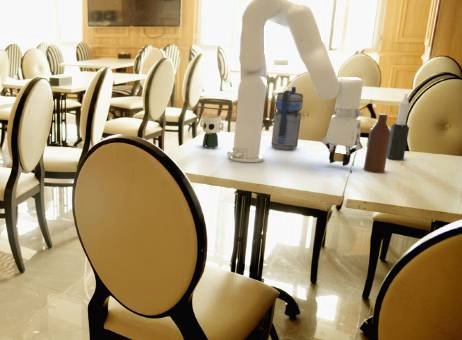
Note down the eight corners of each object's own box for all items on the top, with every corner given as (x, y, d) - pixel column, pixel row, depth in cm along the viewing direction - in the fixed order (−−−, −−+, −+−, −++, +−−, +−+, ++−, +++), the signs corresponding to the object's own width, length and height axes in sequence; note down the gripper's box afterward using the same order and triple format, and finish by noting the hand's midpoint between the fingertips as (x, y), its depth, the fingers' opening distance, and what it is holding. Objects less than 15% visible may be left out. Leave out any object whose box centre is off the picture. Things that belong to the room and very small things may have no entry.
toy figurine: (194, 146, 215) (196, 115, 211) (203, 144, 220) (205, 113, 216) (217, 151, 207) (219, 119, 204) (226, 148, 212) (228, 117, 209)
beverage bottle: (265, 149, 211) (272, 88, 205) (275, 144, 222) (282, 85, 215) (291, 153, 205) (299, 90, 199) (300, 147, 216) (307, 87, 209)
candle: (389, 159, 198) (401, 94, 191) (385, 156, 202) (396, 92, 196) (404, 160, 196) (416, 95, 190) (399, 157, 201) (411, 93, 194)
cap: (346, 160, 185) (347, 151, 184) (343, 162, 182) (345, 153, 181) (334, 158, 188) (335, 150, 187) (331, 160, 185) (333, 152, 184)
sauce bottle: (383, 173, 178) (394, 116, 173) (363, 170, 181) (372, 114, 176) (384, 169, 183) (394, 113, 178) (364, 166, 186) (373, 112, 181)
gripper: (375, 115, 177) (367, 166, 182) (327, 109, 189) (320, 157, 194) (366, 117, 172) (358, 170, 177) (317, 111, 184) (311, 160, 189)
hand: (338, 163), depth 185 cm, fingers closed on cap, 4 cm apart
